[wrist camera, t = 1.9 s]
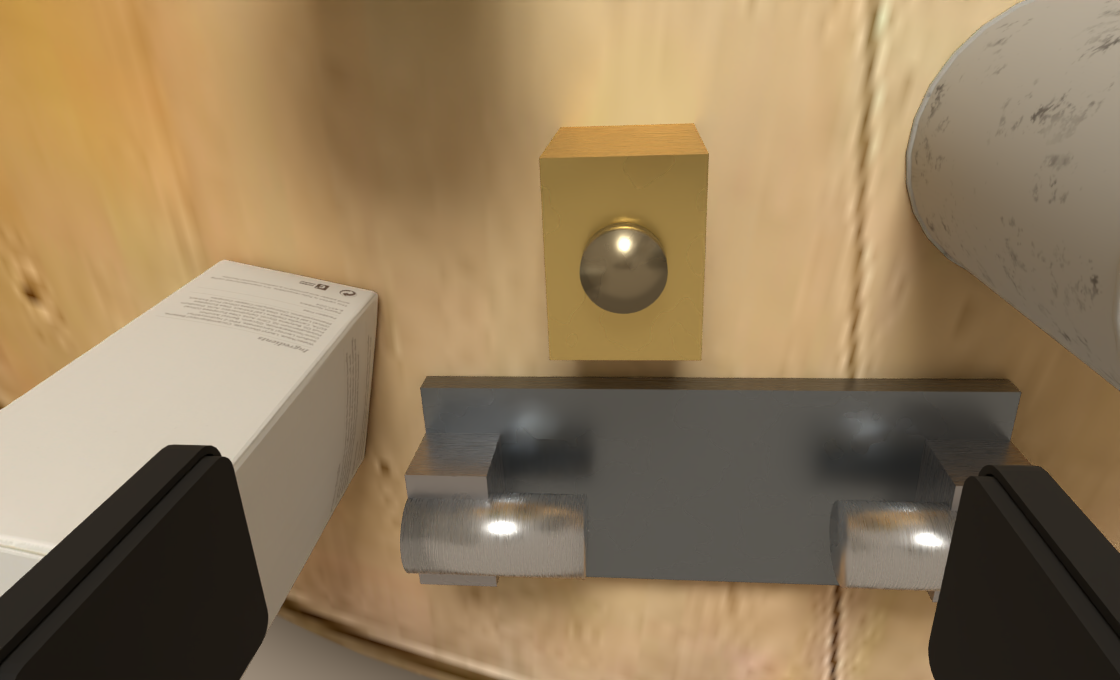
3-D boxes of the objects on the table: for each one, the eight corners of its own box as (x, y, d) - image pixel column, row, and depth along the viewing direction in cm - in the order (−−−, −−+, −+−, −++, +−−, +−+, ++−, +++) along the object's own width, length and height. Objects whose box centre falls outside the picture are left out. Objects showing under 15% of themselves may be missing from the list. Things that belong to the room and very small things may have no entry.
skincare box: (225, 253, 29) (-180, 490, 15) (393, 290, 29) (153, 564, 14) (223, 436, 32) (-105, 773, 18) (373, 470, 32) (163, 834, 18)
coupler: (560, 127, 26) (535, 163, 19) (693, 123, 25) (711, 159, 19) (567, 292, 28) (546, 371, 22) (688, 291, 28) (703, 372, 21)
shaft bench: (1008, 379, 28) (1090, 461, 23) (966, 572, 31) (1028, 680, 26) (426, 376, 30) (384, 449, 25) (449, 556, 34) (416, 652, 29)
